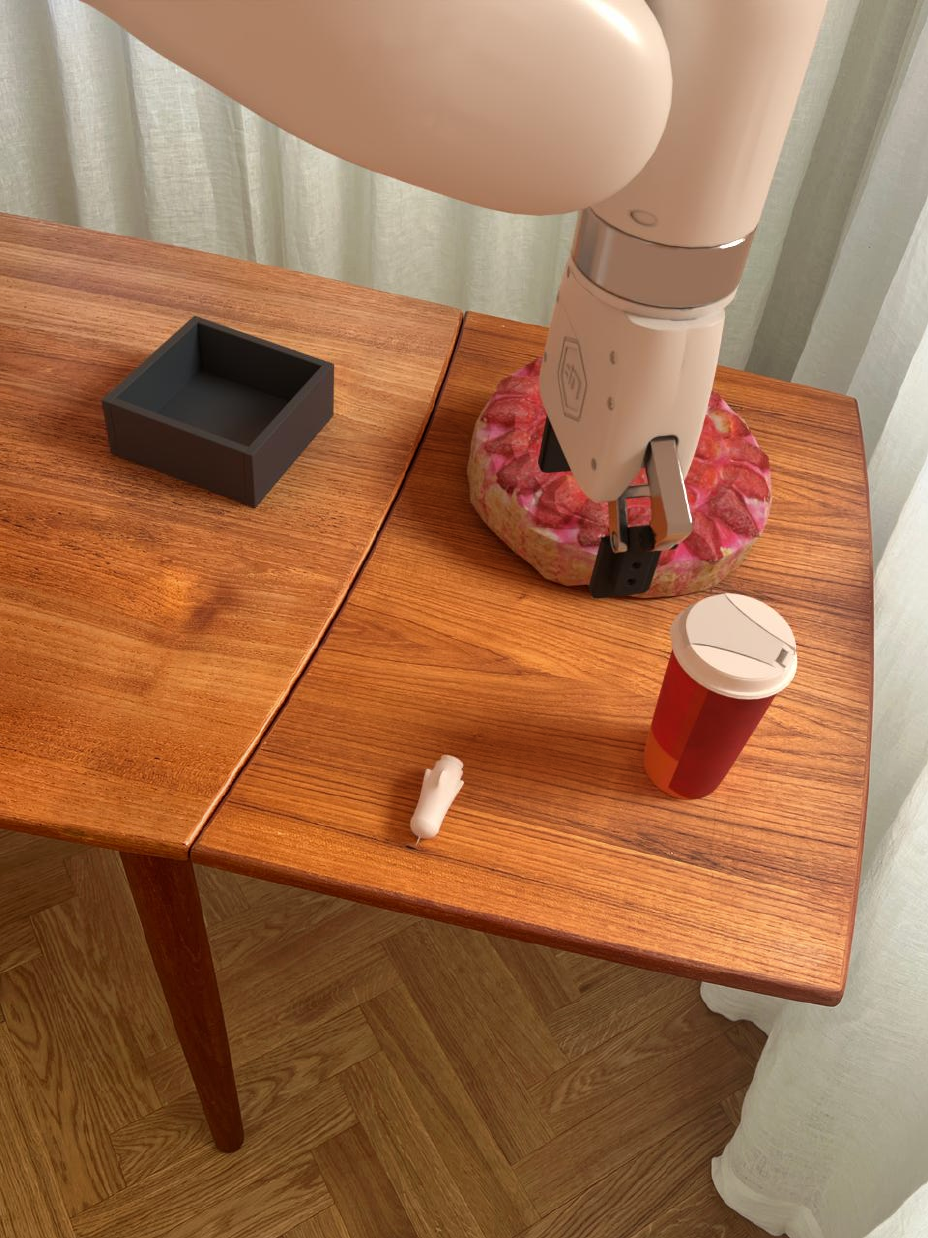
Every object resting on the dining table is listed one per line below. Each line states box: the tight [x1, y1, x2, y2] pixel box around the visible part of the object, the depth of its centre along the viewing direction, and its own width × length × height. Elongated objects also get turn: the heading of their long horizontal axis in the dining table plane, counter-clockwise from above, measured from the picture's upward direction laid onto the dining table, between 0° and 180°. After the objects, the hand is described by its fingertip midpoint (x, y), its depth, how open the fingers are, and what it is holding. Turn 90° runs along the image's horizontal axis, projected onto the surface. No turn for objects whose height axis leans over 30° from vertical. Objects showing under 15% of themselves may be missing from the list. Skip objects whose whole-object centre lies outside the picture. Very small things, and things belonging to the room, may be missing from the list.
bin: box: [100, 315, 335, 509], centre depth 93 cm, size 14×14×6 cm
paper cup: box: [643, 592, 798, 800], centre depth 71 cm, size 8×8×14 cm
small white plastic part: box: [409, 754, 465, 846], centre depth 71 cm, size 4×6×3 cm, turn 135°
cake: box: [466, 356, 773, 599], centre depth 91 cm, size 25×25×8 cm
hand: (589, 526), depth 61 cm, fingers open, 9 cm apart
